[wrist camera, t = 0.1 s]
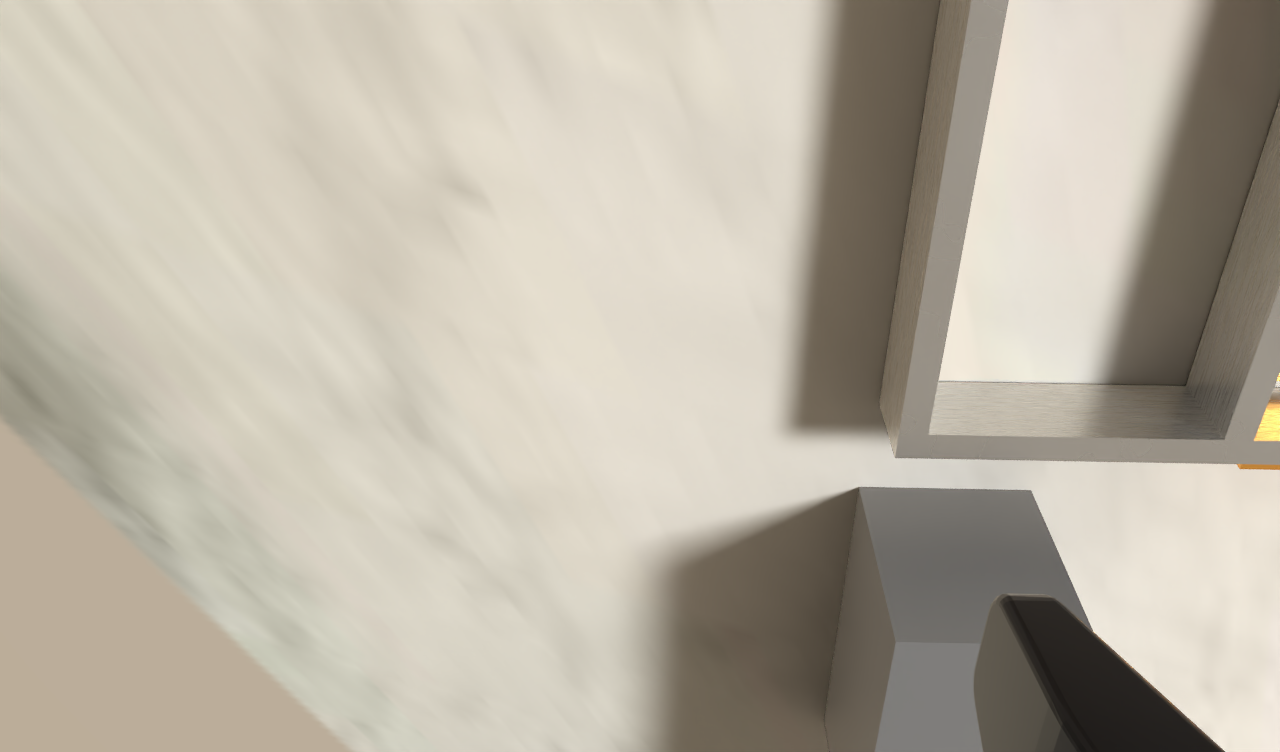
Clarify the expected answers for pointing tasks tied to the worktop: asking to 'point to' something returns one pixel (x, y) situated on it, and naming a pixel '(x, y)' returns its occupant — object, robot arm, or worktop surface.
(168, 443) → the worktop surface
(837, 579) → the worktop surface
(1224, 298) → the tray
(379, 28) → the worktop surface
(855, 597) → the grey rectangular cuboid
